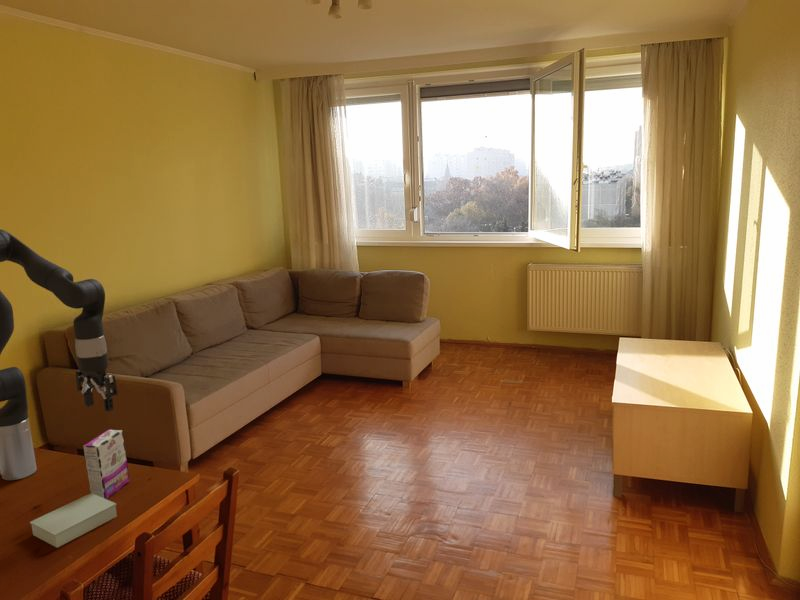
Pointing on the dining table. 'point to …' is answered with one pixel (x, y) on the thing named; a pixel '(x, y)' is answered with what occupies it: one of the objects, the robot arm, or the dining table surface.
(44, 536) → the keepsake box
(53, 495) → the dining table surface
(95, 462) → the candy bar box
